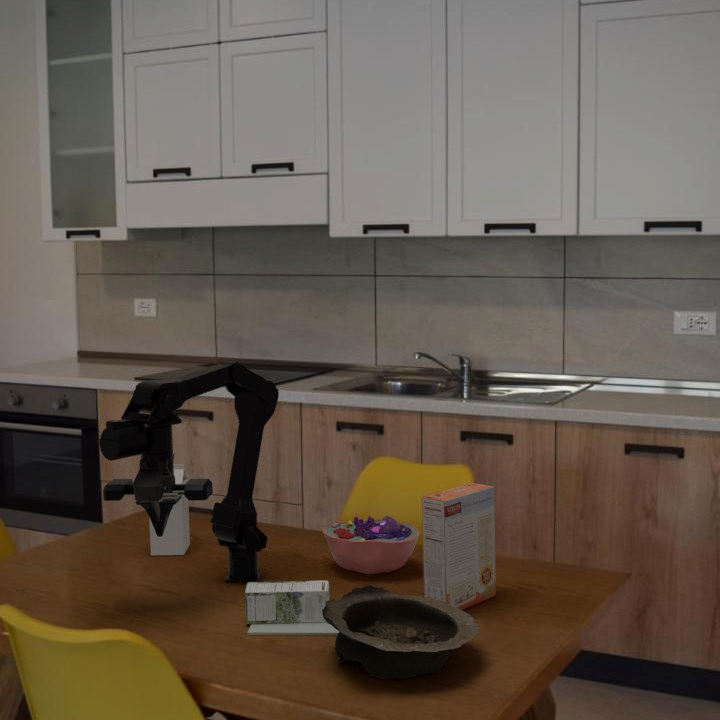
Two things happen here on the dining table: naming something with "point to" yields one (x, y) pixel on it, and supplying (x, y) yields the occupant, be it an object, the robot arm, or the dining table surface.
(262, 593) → the syrup box
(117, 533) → the dining table surface
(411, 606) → the stone bowl
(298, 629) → the mat
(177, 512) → the milk carton
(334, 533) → the cell model
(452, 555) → the cracker box
